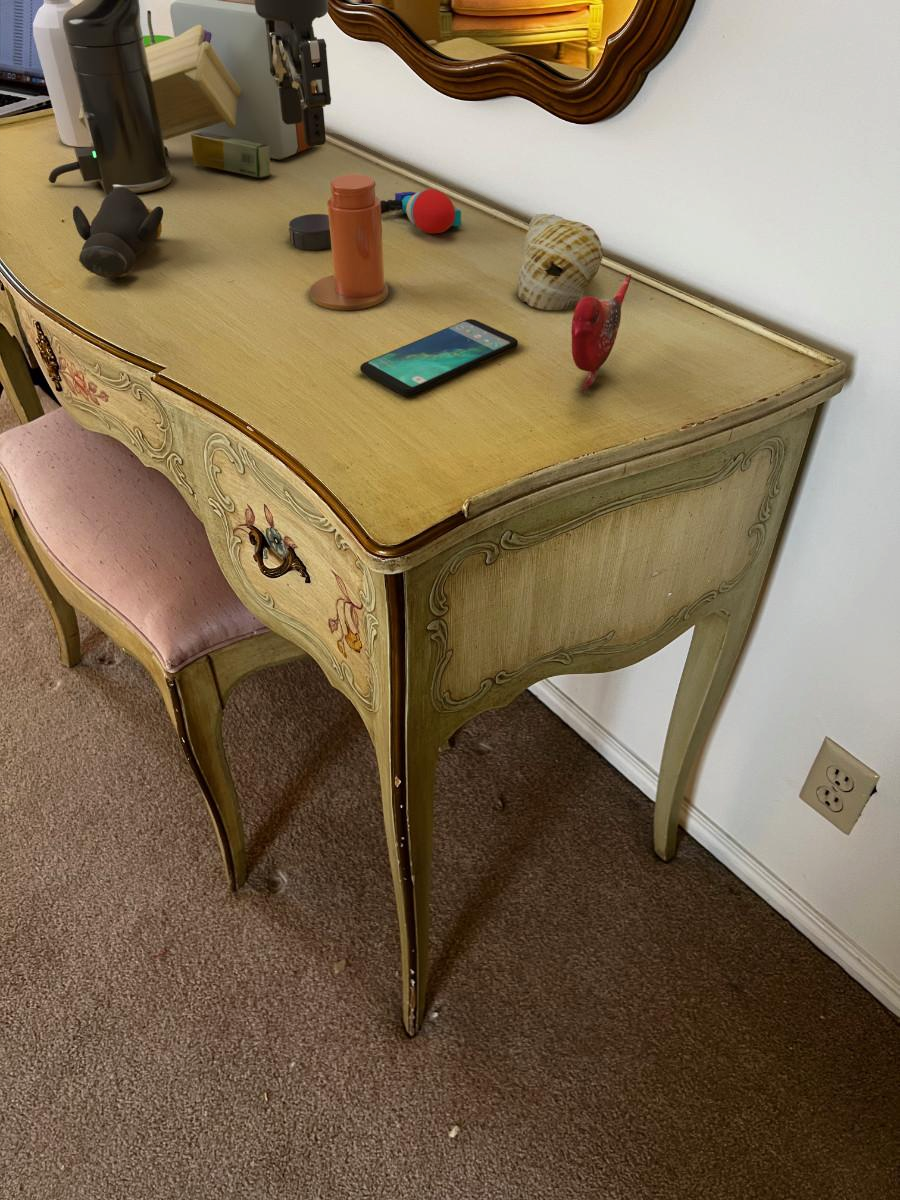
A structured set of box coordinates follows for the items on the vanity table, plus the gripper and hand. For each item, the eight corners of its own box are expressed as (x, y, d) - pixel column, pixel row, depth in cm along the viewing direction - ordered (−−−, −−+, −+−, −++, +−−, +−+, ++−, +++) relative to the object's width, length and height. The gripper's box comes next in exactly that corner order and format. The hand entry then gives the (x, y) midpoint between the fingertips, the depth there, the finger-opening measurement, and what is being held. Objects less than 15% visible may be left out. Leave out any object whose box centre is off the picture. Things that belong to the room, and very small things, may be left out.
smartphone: (521, 340, 90) (405, 392, 83) (521, 347, 91) (406, 400, 83) (470, 316, 94) (355, 364, 87) (470, 323, 95) (356, 372, 87)
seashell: (551, 315, 95) (527, 213, 91) (507, 322, 103) (484, 229, 100) (631, 289, 98) (611, 190, 95) (582, 299, 106) (562, 208, 103)
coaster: (324, 316, 96) (324, 310, 96) (301, 285, 102) (300, 280, 102) (399, 302, 99) (399, 296, 98) (372, 272, 104) (372, 267, 104)
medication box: (272, 175, 129) (271, 144, 127) (260, 179, 127) (258, 147, 125) (204, 160, 133) (201, 130, 131) (191, 163, 131) (188, 132, 129)
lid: (331, 229, 114) (329, 211, 113) (346, 246, 110) (344, 227, 109) (285, 236, 113) (283, 218, 111) (298, 253, 109) (296, 234, 107)
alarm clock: (322, 147, 138) (308, -16, 125) (284, 162, 133) (265, -6, 119) (230, 128, 146) (207, -28, 132) (190, 142, 140) (162, -19, 127)
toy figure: (369, 223, 120) (421, 241, 109) (367, 181, 117) (420, 195, 106) (421, 217, 123) (477, 235, 112) (420, 177, 120) (477, 190, 109)
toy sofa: (240, 127, 128) (245, 71, 131) (205, 76, 120) (210, 18, 124) (114, 167, 134) (121, 113, 138) (73, 121, 126) (81, 65, 130)
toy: (100, 238, 112) (59, 289, 101) (84, 176, 108) (40, 223, 97) (183, 238, 112) (152, 290, 101) (171, 176, 108) (137, 223, 96)
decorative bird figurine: (551, 414, 82) (560, 306, 75) (609, 331, 94) (621, 231, 87) (583, 421, 81) (595, 313, 74) (636, 336, 93) (651, 236, 86)
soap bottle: (45, 143, 141) (-8, -46, 125) (92, 128, 147) (48, -55, 131) (84, 152, 137) (36, -41, 121) (131, 136, 143) (91, -50, 127)
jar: (361, 302, 97) (353, 194, 90) (324, 289, 100) (314, 182, 92) (395, 285, 100) (390, 179, 93) (358, 273, 103) (351, 169, 96)
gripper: (232, -49, 96) (254, 120, 107) (271, -26, 87) (290, 157, 98) (302, -53, 99) (316, 113, 110) (346, -31, 89) (357, 148, 100)
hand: (303, 133), depth 104 cm, fingers open, 8 cm apart
